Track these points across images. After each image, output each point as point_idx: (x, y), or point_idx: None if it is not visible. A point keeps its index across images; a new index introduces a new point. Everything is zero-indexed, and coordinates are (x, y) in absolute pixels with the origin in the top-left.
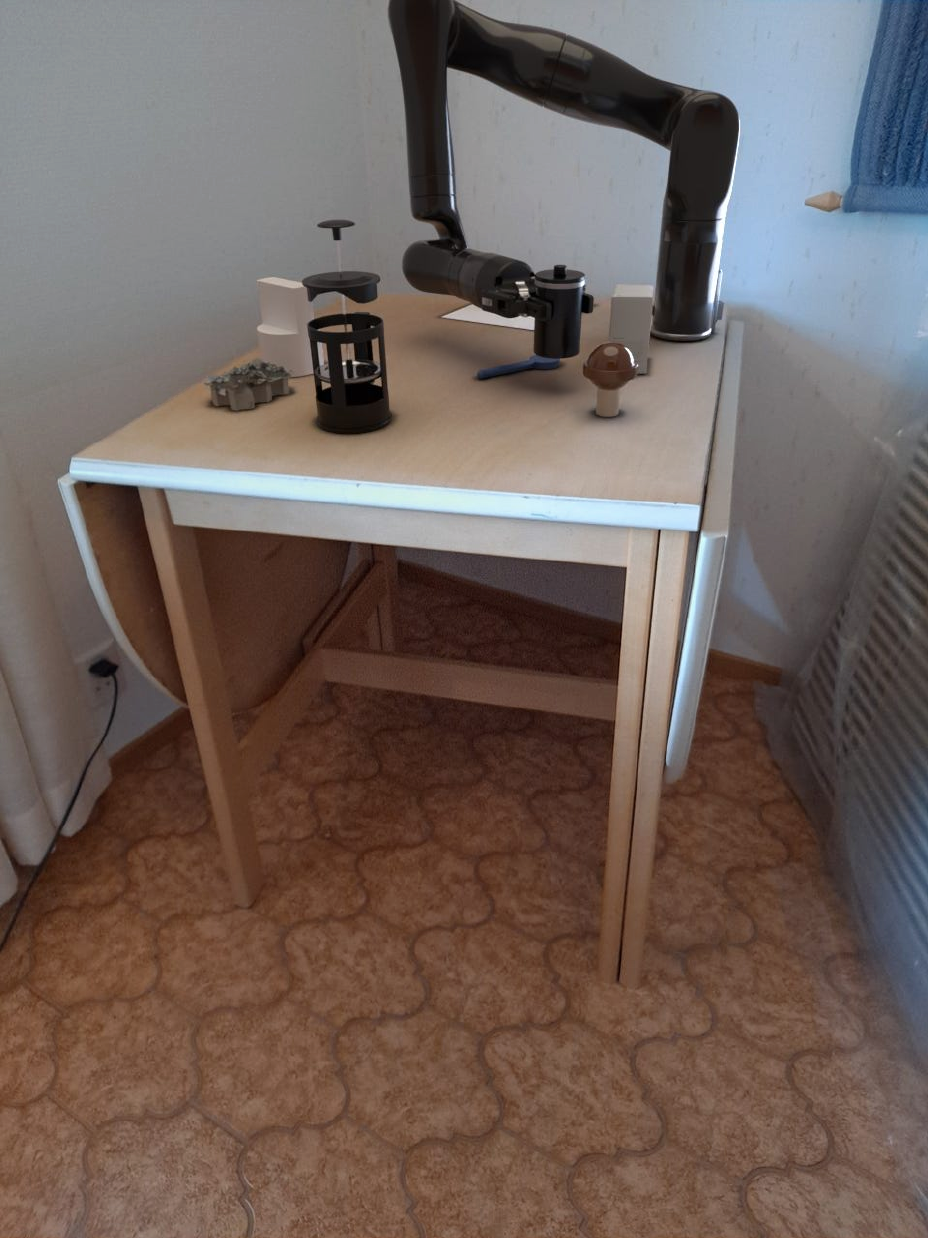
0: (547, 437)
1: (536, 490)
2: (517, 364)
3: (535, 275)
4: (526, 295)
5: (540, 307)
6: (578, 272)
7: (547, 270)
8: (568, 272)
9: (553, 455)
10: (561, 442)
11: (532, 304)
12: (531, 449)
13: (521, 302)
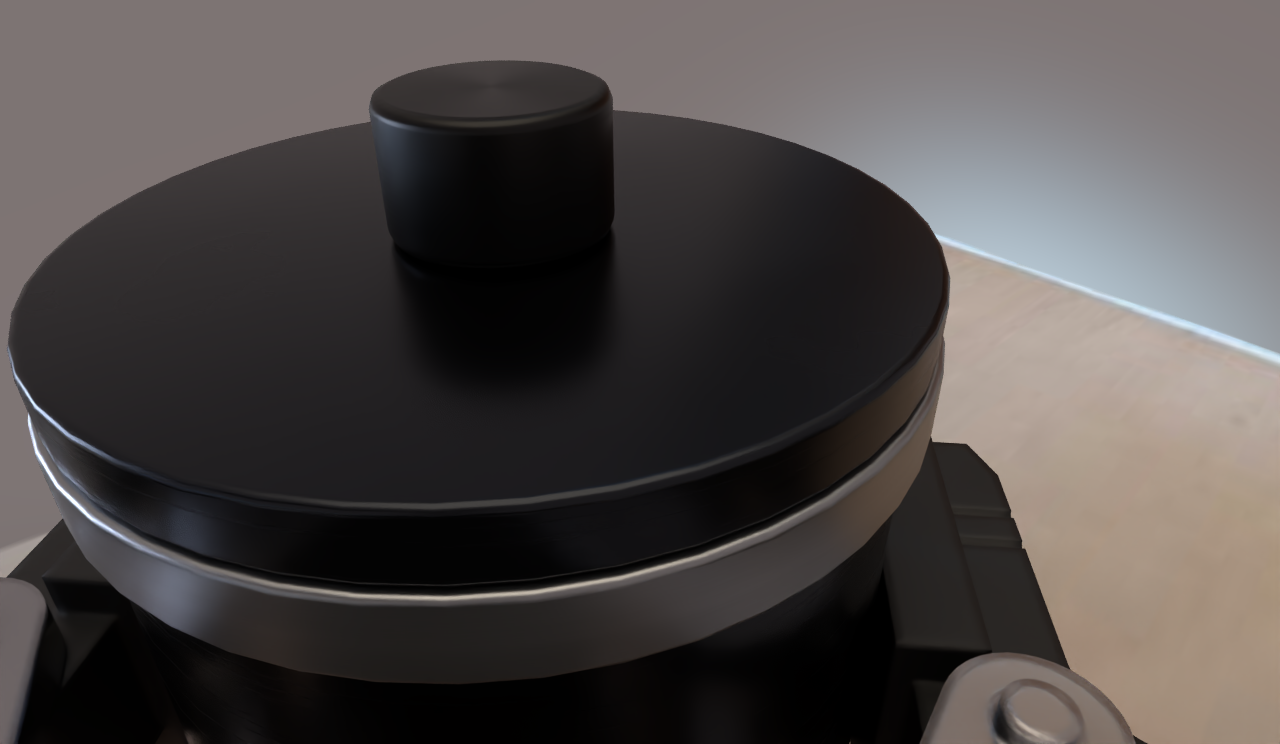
0: (1054, 567)
1: (1245, 363)
2: None
3: (923, 354)
4: (1042, 683)
5: (970, 452)
6: (203, 192)
7: (362, 454)
8: (285, 236)
9: (1101, 463)
10: (1018, 512)
11: (1021, 550)
12: (1170, 527)
13: (1138, 741)
